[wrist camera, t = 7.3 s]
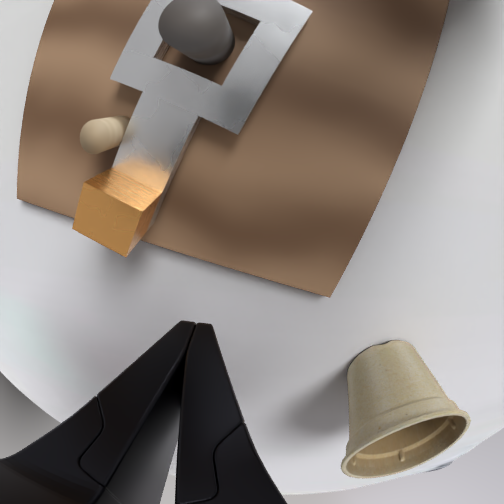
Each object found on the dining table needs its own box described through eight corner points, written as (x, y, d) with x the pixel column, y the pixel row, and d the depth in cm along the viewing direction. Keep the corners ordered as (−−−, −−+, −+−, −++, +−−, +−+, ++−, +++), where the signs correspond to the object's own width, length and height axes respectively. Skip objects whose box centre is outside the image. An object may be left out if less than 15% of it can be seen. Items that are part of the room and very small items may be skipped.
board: (112, -93, 7) (79, -123, 2) (446, -14, 9) (494, -35, 5) (23, 194, 17) (-26, 223, 12) (327, 290, 19) (344, 347, 14)
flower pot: (314, 399, 25) (324, 484, 17) (343, 321, 20) (373, 425, 13) (404, 394, 25) (428, 467, 17) (447, 322, 20) (494, 401, 13)
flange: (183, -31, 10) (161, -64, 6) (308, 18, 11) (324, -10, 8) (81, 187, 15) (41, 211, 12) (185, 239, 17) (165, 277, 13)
